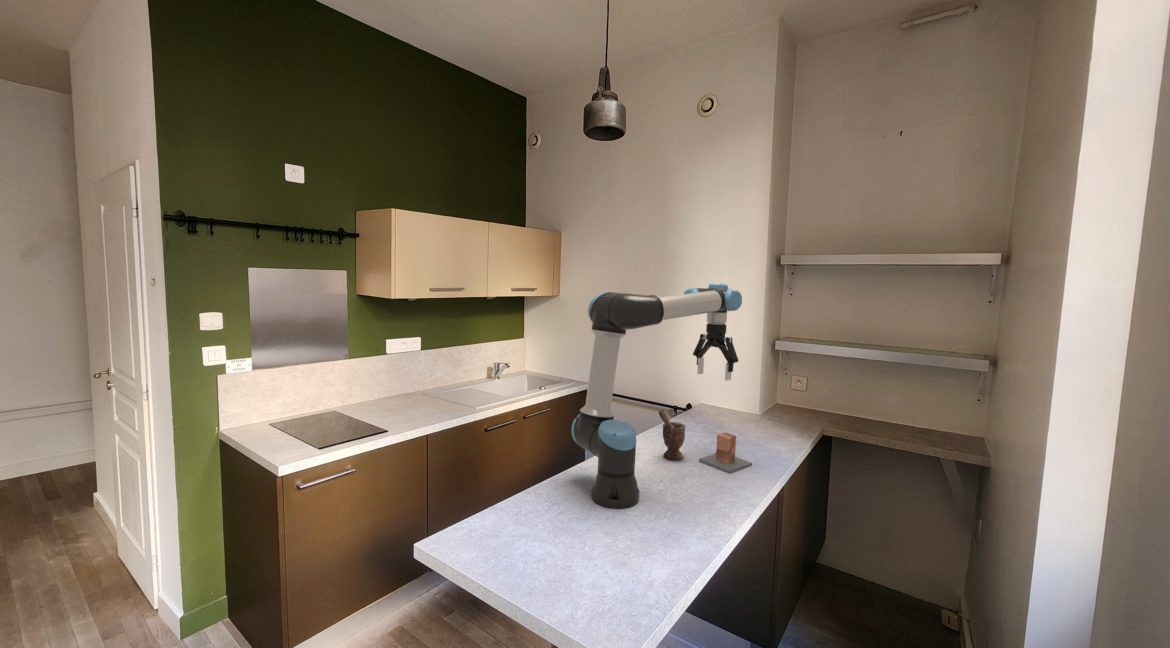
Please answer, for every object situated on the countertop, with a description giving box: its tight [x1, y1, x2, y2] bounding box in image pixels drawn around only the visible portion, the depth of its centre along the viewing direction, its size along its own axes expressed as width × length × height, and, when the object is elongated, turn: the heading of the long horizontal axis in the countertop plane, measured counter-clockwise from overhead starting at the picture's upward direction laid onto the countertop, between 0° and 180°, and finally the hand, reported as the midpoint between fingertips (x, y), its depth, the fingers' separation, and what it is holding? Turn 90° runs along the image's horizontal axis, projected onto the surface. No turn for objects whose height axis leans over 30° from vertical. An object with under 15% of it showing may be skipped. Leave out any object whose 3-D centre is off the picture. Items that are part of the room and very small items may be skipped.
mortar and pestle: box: [658, 409, 686, 461], centre depth 182 cm, size 12×9×20 cm
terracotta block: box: [715, 432, 737, 464], centre depth 179 cm, size 5×5×10 cm
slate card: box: [698, 453, 753, 474], centre depth 180 cm, size 14×14×1 cm
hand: (713, 377), depth 185 cm, fingers open, 13 cm apart
